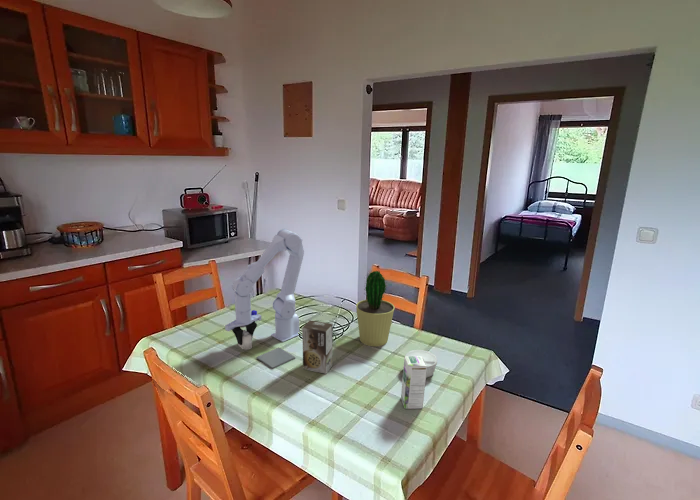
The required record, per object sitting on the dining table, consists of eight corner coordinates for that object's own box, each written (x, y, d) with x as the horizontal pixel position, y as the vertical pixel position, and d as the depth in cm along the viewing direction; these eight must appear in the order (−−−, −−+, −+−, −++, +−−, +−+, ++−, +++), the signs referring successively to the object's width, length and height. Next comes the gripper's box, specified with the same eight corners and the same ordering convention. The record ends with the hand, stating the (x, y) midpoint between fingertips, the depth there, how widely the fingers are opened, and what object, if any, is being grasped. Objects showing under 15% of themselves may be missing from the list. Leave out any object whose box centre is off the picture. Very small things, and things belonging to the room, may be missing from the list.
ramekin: (416, 383, 124) (418, 369, 123) (397, 366, 134) (398, 353, 132) (442, 375, 129) (444, 361, 128) (422, 359, 139) (423, 347, 138)
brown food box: (333, 365, 134) (333, 323, 130) (326, 374, 128) (326, 331, 124) (309, 360, 137) (309, 319, 133) (302, 369, 131) (301, 326, 127)
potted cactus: (387, 352, 143) (392, 278, 136) (350, 345, 148) (352, 272, 141) (396, 334, 158) (400, 266, 150) (361, 328, 162) (363, 262, 155)
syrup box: (400, 397, 117) (403, 355, 113) (418, 396, 117) (422, 355, 114) (404, 409, 111) (407, 366, 108) (423, 408, 112) (427, 365, 108)
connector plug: (244, 341, 149) (243, 327, 147) (253, 347, 144) (253, 333, 143) (236, 344, 146) (235, 330, 145) (245, 350, 142) (245, 336, 140)
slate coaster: (278, 348, 144) (278, 347, 144) (295, 358, 137) (295, 357, 137) (256, 358, 137) (256, 356, 137) (272, 369, 130) (272, 367, 130)
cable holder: (247, 326, 162) (247, 318, 161) (241, 324, 164) (241, 316, 163) (259, 319, 169) (259, 311, 168) (253, 318, 171) (253, 310, 170)
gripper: (253, 301, 149) (255, 332, 153) (220, 311, 139) (222, 344, 142) (264, 306, 145) (265, 338, 148) (230, 317, 134) (231, 351, 138)
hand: (244, 342), depth 145 cm, fingers closed on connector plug, 4 cm apart
